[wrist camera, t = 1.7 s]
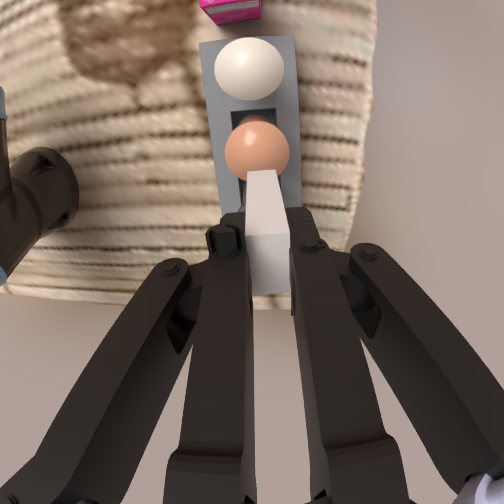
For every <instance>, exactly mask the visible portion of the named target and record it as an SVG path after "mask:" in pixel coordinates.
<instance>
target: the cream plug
mask: <svg viewBox="0 0 504 504" xmlns="http://www.w3.org/2000/svg"><path fill="white" fill-rule="evenodd" d="M214 72H215V77H216V80H217V82H218V84H219V86H220V87H221V88H222V89H223V90H224V91H225V92H226V93H227V94H229V95H230V96H232V97H234V98H237V99H241V100H258V99H261V98H264V97H266V96H268V95H270V94H271V93H272V92H274V91H275V90H276V89H277V87H278V86H279V84H280V83H281V81H282V78H283V75H284V63H283V60H282V57H281V55H280V53H279V52H278V51H277V49H276V48H275V47H274V46H272V45H271V44H270V43H268V42H266V41H264V40H261V39H258V38H251V37H250V38H241V39H237V40H235V41H232V42H231V43H229V44H227V45H226V46H225V47H224V48H223V49H222V50H221V51H220V53H219V54H218V56H217V58H216V61H215V66H214Z"/></svg>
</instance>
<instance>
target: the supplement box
mask: <svg viewBox="0 0 504 504" xmlns="http://www.w3.org/2000/svg"><path fill="white" fill-rule="evenodd" d="M261 2H262V0H199V4H200V8H202V9H203V11H204V12H205V13H206V14H207V15H208V16H209V17H210V18H211V19H212V20H213V22H214V23H215V24H216V25H218V24H224V23H230V22H237V21H243V20H251V19H258V18H260V14H261Z"/></svg>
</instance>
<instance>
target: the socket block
mask: <svg viewBox="0 0 504 504" xmlns="http://www.w3.org/2000/svg"><path fill="white" fill-rule="evenodd" d="M242 38H250V37H242ZM251 38H258V39H261V40H264V41H266V42H268V43H270V44H271V45H272V46H274V47H275V48H276V49H277V51H278V52H279V53H280V55H281V57H282V60H283V63H284V75H283V78H282V81H281V83H280V84H279V86H278V87H277V89H276V90H275V91H274V92H272V93H271V94H270V95H268V96H266V97H264V98H261V99H258V100H241V99H237V98H234V97H232V96H230V95H229V94H227V93H226V92H225V91H224V90H223V89H222V88H221V87H220V86H219V84H218V82H217V80H216V77H215V72H214V66H215V61H216V58H217V56H218V54H219V53H220V51H221V50H222V49H223V48H224V47H225V46H226V45H227V44H229V43H231V42H232V41H235V40H237V39H241V38H232V39H223V40H216V41H209V42H202V43H199V49H200V58H201V66H202V74H203V82H204V90H205V98H206V106H207V113H208V121H209V128H210V135H211V142H212V150H213V157H214V163H215V170H216V177H217V184H218V190H219V197H220V204H221V210H222V216H224V215H225V214H226V213H233V212H237V211H238V210H239V208H240V207H241V206H242V203H243V186H244V183H245V181H244V180H242V179H240V178H238V177H237V176H236V175H235V174H233V172H232V171H231V170H230V169H229V167H228V165H227V163H226V159H225V146H226V143H227V140H228V137H229V135H230V134H231V132H232V131H233V130H234V129H235V128H236V127H237V126H238V124H239V123H240V121H241V120H242V119H243V118H244V117H246V116H248V115H252V114H259V115H262V116H264V117H266V118H267V119H268V120H269V121H270V122H271V123H272V124H273V125H275V126H276V127H278V128H279V129H280V130H281V132H282V133H283V134H284V136H285V138H286V140H287V142H288V145H289V151H290V152H289V160H288V163H287V165H286V167H285V169H284V170H283V171H282V173H281V174H280V175H278V176H277V178H278V182H279V186H280V191H281V195H282V199H283V204H284V205H285V207H286V208H287V207H302V178H301V144H300V121H299V102H298V86H297V71H296V58H295V47H294V36H293V35H271V36H254V37H251Z"/></svg>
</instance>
